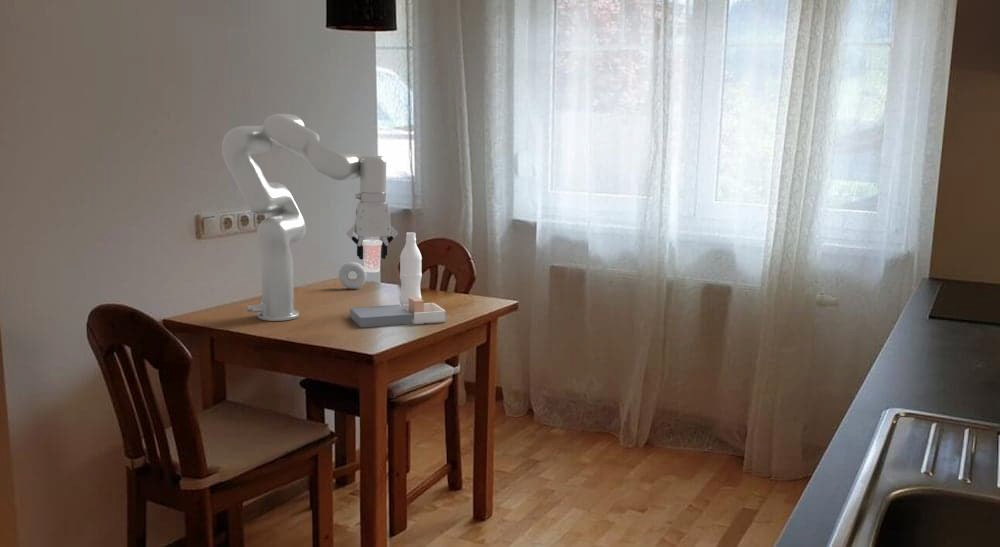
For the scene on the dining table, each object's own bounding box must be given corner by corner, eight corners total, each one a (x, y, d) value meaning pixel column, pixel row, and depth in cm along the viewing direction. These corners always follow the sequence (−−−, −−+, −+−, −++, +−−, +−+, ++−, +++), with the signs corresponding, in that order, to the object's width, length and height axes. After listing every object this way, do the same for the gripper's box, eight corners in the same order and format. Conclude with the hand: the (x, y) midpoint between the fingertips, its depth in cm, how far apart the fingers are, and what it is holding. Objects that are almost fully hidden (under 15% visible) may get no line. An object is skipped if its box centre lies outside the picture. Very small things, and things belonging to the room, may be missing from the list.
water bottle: (411, 311, 290) (411, 235, 286) (395, 307, 295) (395, 232, 290) (426, 307, 296) (426, 232, 291) (410, 304, 300) (410, 230, 296)
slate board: (360, 327, 268) (360, 317, 267) (350, 317, 281) (349, 307, 280) (412, 323, 274) (412, 314, 273) (399, 313, 287) (399, 304, 286)
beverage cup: (374, 273, 262) (375, 226, 259) (357, 271, 264) (357, 224, 262) (386, 270, 267) (386, 224, 265) (369, 268, 270) (369, 222, 267)
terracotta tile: (414, 301, 275) (423, 300, 277) (408, 297, 281) (417, 296, 282) (414, 320, 277) (423, 319, 278) (408, 316, 282) (417, 315, 283)
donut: (338, 289, 321) (338, 262, 319) (339, 287, 324) (338, 260, 322) (366, 290, 322) (366, 262, 320) (367, 288, 325) (366, 261, 323)
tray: (414, 324, 273) (414, 313, 272) (402, 315, 284) (403, 304, 284) (445, 322, 277) (446, 311, 276) (433, 313, 288) (433, 302, 287)
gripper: (345, 199, 255) (345, 261, 259) (404, 199, 261) (403, 260, 265) (341, 196, 262) (340, 256, 266) (398, 196, 268) (397, 255, 272)
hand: (372, 257), depth 265 cm, fingers closed on beverage cup, 6 cm apart
